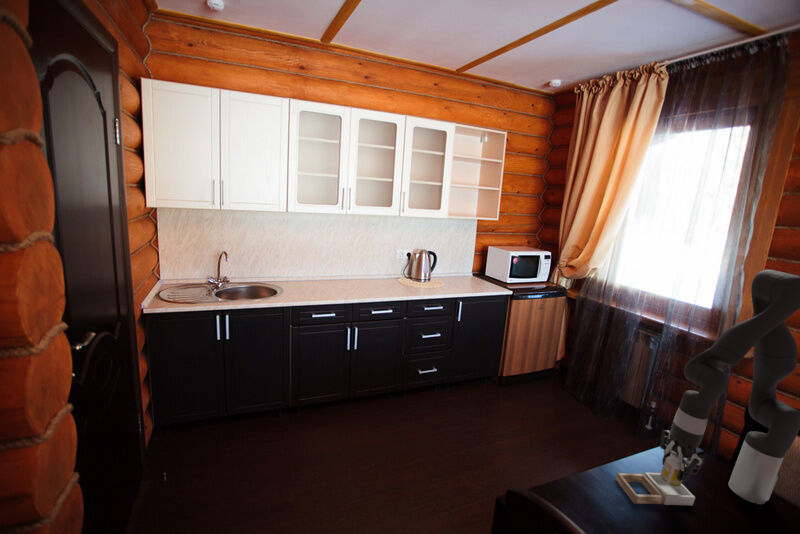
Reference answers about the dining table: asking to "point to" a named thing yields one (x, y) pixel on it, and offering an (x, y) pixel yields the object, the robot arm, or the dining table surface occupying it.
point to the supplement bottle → (671, 470)
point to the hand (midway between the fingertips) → (673, 472)
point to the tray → (671, 491)
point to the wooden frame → (639, 498)
